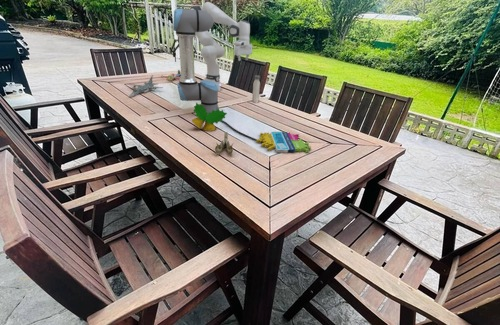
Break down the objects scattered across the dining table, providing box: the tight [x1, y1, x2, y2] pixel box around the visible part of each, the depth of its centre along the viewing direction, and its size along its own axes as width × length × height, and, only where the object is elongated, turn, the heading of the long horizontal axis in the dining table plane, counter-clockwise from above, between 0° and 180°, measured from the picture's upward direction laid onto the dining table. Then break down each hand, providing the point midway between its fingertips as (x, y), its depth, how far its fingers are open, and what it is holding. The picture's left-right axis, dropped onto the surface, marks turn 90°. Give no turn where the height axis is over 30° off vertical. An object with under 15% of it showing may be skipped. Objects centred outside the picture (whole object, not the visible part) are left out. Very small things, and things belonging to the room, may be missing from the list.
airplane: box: [127, 74, 164, 98], centre depth 226 cm, size 38×31×10 cm
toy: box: [160, 69, 181, 82], centre depth 279 cm, size 28×7×30 cm
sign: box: [255, 131, 312, 154], centre depth 152 cm, size 26×2×30 cm
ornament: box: [191, 101, 228, 132], centre depth 162 cm, size 21×8×15 cm, turn 105°
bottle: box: [251, 79, 261, 103], centre depth 219 cm, size 6×6×21 cm
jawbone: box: [214, 131, 234, 156], centre depth 136 cm, size 9×15×10 cm
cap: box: [253, 75, 261, 80], centre depth 214 cm, size 4×4×2 cm
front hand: (184, 61), depth 211 cm, fingers open, 13 cm apart
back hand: (243, 60), depth 222 cm, fingers open, 8 cm apart
